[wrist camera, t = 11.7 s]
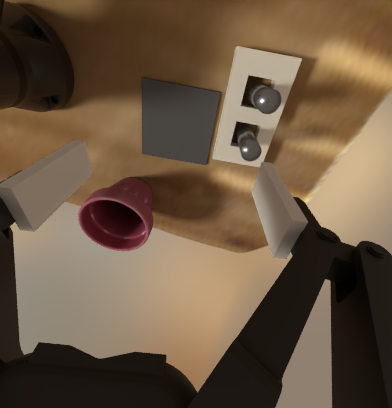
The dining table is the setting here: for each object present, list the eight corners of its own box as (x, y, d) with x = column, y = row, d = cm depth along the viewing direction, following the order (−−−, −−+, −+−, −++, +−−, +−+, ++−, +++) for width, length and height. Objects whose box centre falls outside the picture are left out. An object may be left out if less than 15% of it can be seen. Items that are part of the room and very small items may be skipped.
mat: (142, 153, 43) (142, 153, 42) (142, 77, 35) (141, 77, 34) (206, 164, 43) (206, 165, 43) (220, 92, 35) (220, 92, 35)
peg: (244, 101, 36) (254, 112, 27) (249, 81, 34) (262, 86, 25) (260, 104, 36) (276, 116, 27) (266, 84, 34) (285, 91, 25)
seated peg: (234, 138, 39) (238, 159, 30) (238, 123, 38) (244, 140, 29) (248, 141, 40) (257, 163, 30) (253, 125, 38) (264, 144, 29)
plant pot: (151, 223, 54) (136, 260, 44) (101, 202, 52) (72, 236, 41) (171, 183, 47) (159, 217, 36) (114, 156, 44) (82, 184, 33)
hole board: (212, 154, 42) (212, 158, 40) (235, 47, 31) (237, 46, 29) (258, 162, 42) (261, 167, 40) (296, 59, 32) (302, 58, 30)
